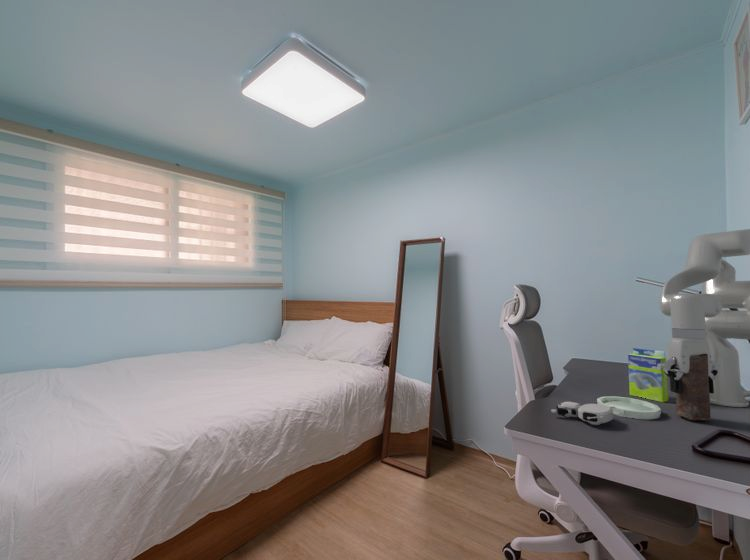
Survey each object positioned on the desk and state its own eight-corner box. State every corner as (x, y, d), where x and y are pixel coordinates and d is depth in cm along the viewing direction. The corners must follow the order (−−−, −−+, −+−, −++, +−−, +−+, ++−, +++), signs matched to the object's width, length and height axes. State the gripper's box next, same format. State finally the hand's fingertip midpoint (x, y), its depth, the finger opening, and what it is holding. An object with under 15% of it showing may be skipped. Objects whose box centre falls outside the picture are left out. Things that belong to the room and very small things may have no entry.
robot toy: (549, 420, 102) (607, 431, 91) (548, 405, 102) (604, 414, 91) (565, 411, 110) (619, 420, 99) (563, 397, 110) (617, 404, 99)
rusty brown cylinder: (719, 424, 95) (714, 353, 96) (693, 424, 95) (689, 354, 96) (694, 415, 103) (690, 349, 104) (670, 415, 103) (666, 349, 104)
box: (629, 395, 124) (626, 348, 125) (634, 393, 126) (632, 347, 127) (663, 403, 114) (660, 352, 115) (669, 401, 116) (666, 351, 117)
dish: (631, 402, 116) (630, 395, 116) (674, 418, 100) (674, 411, 100) (586, 403, 115) (586, 396, 115) (623, 420, 99) (623, 412, 99)
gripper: (702, 333, 104) (706, 388, 103) (650, 333, 104) (653, 389, 102) (729, 335, 97) (733, 395, 96) (672, 336, 96) (676, 396, 95)
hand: (691, 392), depth 99 cm, fingers open, 9 cm apart
